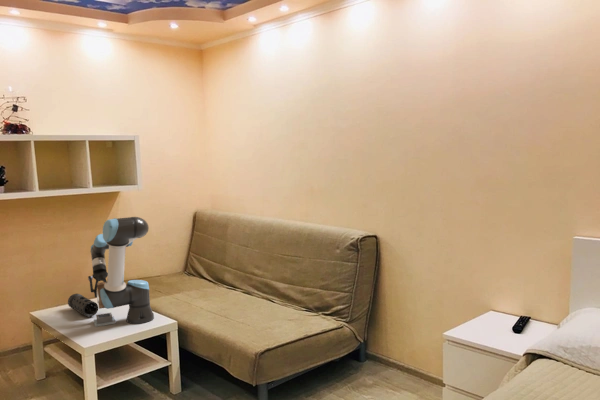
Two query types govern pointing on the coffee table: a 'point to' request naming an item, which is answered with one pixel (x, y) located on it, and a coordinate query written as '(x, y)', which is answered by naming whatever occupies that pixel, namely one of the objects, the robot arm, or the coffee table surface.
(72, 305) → the muzzle brake
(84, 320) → the coffee table surface
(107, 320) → the socket stand
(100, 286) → the walnut post
